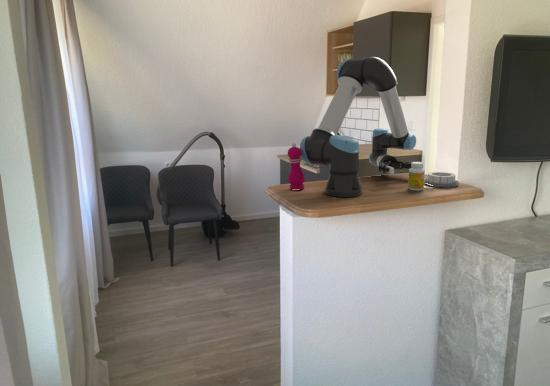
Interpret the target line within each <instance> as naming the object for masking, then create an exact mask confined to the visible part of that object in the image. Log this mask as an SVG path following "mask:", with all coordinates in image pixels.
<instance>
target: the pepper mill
mask: <svg viewBox="0 0 550 386" xmlns="http://www.w3.org/2000/svg"><path fill="white" fill-rule="evenodd" d="M301 154H302V152H301V149H300V147H297V144H296V143H292V144H291V147H290V148H289V149H288V150H287V156H288V158H289V159H288V160H289V161H288V163H290V171H289V173H288V177H287V179H288V180H287V181H288V183H289V184H290V185H289V189H290V188H291V189H303V190H305V184H304V182H305V180H306V178H305V174H304V173H303V170H302V169H301V161H302V157H301Z"/></svg>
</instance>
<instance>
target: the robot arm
mask: <svg viewBox="0 0 550 386" xmlns="http://www.w3.org/2000/svg"><path fill="white" fill-rule="evenodd" d="M336 70H337V71H336V73H337V74H336V79H337V85H338V86H337V89H336V90H335V93H334V95H333V97H332V98H331V101H330V103H329V104H328V107H327V109H326V111H325V113H324V116H323V117H322V119H321V121H320V123H319V125H318V127H317V128H314V129H313V130H312V132H311V134H310V136H308V135H307V136H305V137H303V138H302V139H301V141H300V143H299V148H300V149H301V152H302V154H301V156H300V158H301V160H302V161H304V162H305V163H306V164H309V165H313V166H314V165H316V166H323V167H324V166H326V167H329V175H328V178H327V181H326V184H325V188H324V190H325V191H324V193H325V195H327V194H328V195H327V196H330V195H333V196H332V197H334V196H338V197H337V198H355V197H359V196H361V195H362V194H363V186H362V184H361V180H360V177H359V157H360V155H359V154H360V146H359V140H358V139H357V138H355V137H353V136H349V135H341V134H340V135H339V134H338V132H339V130H340V129H341V126H342V124H343V122H344V121H345V118H346V116H347V114H348V112H349V110H350V107H351V106H352V104H353V102H354V99H355V97H356V95H357V94H360V93H361V92H362V91H363V88H364V87H365V86H373V87H374V90H375V92H377V93H378V95H379V97H380V100H381V103H382V104H381V105H382V107H383V111H384V114H385V117H386V120H387V123H388V126H389V129H390V132H389V130H388V129H387V128H379V127H378V128H374V129H373V130H372V137H371V138H372V140H371V142H372V143H371V146H372V147H371V153H369V156H368V161H369V163H370V164H371V165H373V166H374V167H377V168H378V172H382V173H383V174H386V173H388V174H390V175H395V170H398V169H399V170H404V169H407V170H409V169H410V168H412V167H411V163H412V162H413V161H406V160H404V161H399V160H397V158H396V157H395V156H392V155H390V154H388V149H391V150H392V149H393V150H404V151H411V150H414V149H415V147H416V145H417V136H415V134H412V133H409V128H408V125H407V122H406V118H405V115H404V112H403V108H402V105H401V101H400V98H399V94H398V90H397V86H398V82H397V77H396V75H395V73H394V71H393V69H392V68H391V67H390V66H389V64H388V63H387V62H386V61H385V60H383V59H381V58H380V57H376V56H369V57H360V58H349V59H345V60H343V61H341V63H340V64H339V65H338V67H337V69H336ZM422 168H423V169H424V166H423V167H422Z"/></svg>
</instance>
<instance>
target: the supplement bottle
mask: <svg viewBox="0 0 550 386" xmlns="http://www.w3.org/2000/svg"><path fill="white" fill-rule="evenodd" d="M411 162H412V163H411V167H412V168H410V169H408V183H407V189H408V190H410V191H423V190H424V187H425V184H424V180H425V169H424V162H422V161H411ZM422 167H423V168H422Z"/></svg>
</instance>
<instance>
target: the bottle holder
mask: <svg viewBox="0 0 550 386" xmlns="http://www.w3.org/2000/svg"><path fill="white" fill-rule="evenodd" d="M456 176H457V175H456V174H455V173H452V172H448V171H447V172H445V171H431V172H428V173H427V178H424V182H425V183H428V184H431V185H433V186H434V187H433V188H438V189H439V188H441V189H450V188H451V189H452V187H453V188H457V187H458V186H459V180H457V179H456ZM456 186H457V187H456Z"/></svg>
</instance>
